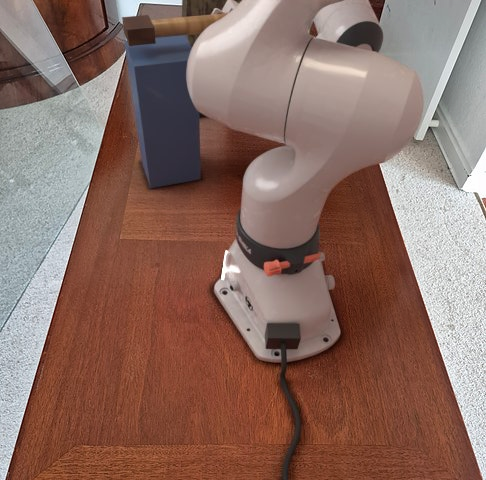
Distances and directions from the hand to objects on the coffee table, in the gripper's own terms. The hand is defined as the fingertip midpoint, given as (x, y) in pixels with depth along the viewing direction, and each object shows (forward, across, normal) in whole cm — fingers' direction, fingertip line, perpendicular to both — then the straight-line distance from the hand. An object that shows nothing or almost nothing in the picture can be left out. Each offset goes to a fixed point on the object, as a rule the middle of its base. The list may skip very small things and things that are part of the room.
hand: (217, 19), depth 71 cm
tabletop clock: (-24, -41, +18) cm, 51 cm away
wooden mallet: (+4, 0, +4) cm, 6 cm away
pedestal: (-6, 0, +28) cm, 29 cm away
